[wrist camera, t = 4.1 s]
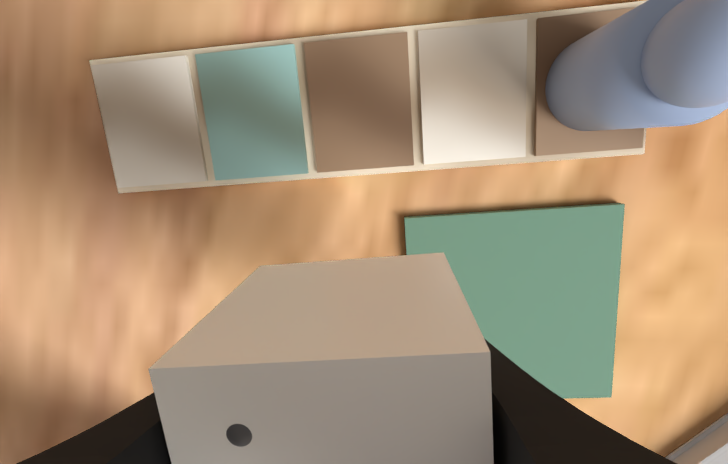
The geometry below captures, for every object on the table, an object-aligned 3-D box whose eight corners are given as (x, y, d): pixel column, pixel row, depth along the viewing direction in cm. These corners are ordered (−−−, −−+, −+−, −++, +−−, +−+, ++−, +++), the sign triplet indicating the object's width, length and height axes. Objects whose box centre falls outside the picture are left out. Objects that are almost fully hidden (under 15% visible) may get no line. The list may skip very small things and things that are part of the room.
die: (452, 416, 11) (499, 628, 6) (285, 422, 12) (208, 624, 7) (443, 252, 10) (491, 353, 5) (260, 265, 11) (146, 370, 6)
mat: (606, 391, 18) (611, 397, 18) (414, 396, 19) (415, 402, 19) (618, 202, 16) (624, 204, 16) (404, 217, 17) (404, 218, 17)
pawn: (636, 127, 15) (835, 115, 8) (543, 134, 15) (660, 127, 8) (644, 30, 14) (870, -72, 7) (546, 40, 14) (677, -50, 8)
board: (634, 153, 16) (647, 153, 15) (127, 191, 18) (115, 194, 17) (645, 4, 15) (659, -3, 14) (99, 63, 16) (85, 59, 16)
